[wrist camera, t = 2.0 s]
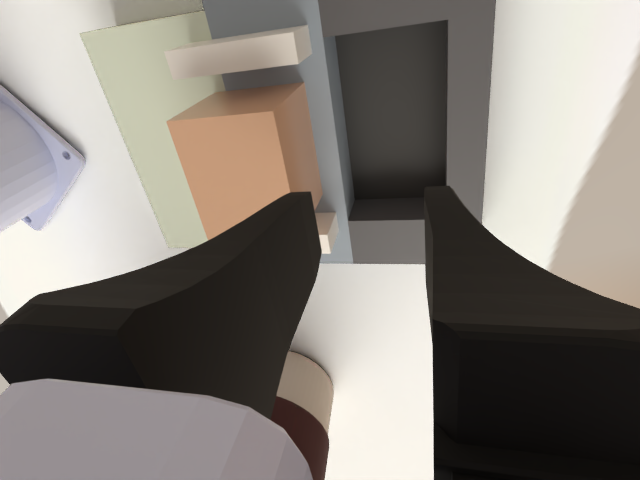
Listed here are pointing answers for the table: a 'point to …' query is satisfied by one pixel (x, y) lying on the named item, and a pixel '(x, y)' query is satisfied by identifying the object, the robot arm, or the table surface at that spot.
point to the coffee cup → (305, 409)
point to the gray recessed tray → (382, 108)
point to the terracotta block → (246, 152)
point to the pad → (154, 110)
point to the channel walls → (251, 55)
